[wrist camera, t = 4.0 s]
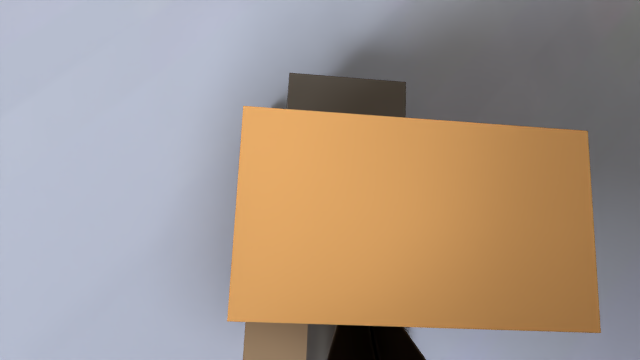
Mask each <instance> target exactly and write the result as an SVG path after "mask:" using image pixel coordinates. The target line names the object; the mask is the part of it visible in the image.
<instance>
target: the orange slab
mask: <svg viewBox="0 0 640 360" xmlns="http://www.w3.org/2000/svg"><path fill="white" fill-rule="evenodd" d="M227 321H234V322H266V323H298V324H330V325H363V326H395V327H427V328H459V329H491V330H523V331H555V332H587V333H601V329H600V314H599V298H598V283H597V267H596V252H595V236H594V221H593V205H592V189H591V174H590V158H589V143H588V131H582V130H569V129H555V128H541V127H527V126H513V125H500V124H486V123H472V122H458V121H444V120H430V119H417V118H403V117H389V116H375V115H361V114H347V113H334V112H320V111H306V110H292V109H278V108H265V107H251V106H243V118H242V132H241V145H240V158H239V172H238V185H237V198H236V212H235V225H234V238H233V251H232V265H231V278H230V291H229V305H228V318H227Z"/></svg>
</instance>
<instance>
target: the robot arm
mask: <svg viewBox="0 0 640 360" xmlns="http://www.w3.org/2000/svg"><path fill="white" fill-rule="evenodd" d="M326 360H426V359H425V358H424V356H423V355H422V353H421V352H420V351H419V349H418V348H417V346H416V345H415V343H414V342H413V341H412V339H411V338H410V336H409V335H408V334H407V332H406V331H405V329H404V328H403V327H395V326H363V325H336V328H335V332H334V335H333V338H332V342H331V345H330V349H329V352H328V356H327V359H326Z"/></svg>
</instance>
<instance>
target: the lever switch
mask: <svg viewBox="0 0 640 360" xmlns="http://www.w3.org/2000/svg"><path fill="white" fill-rule="evenodd" d="M405 106H406V82H398V81H386V80H373V79H360V78H348V77H335V76H323V75H310V74H297V73H290V74H289V86H288V98H287V109H292V110H306V111H320V112H334V113H347V114H361V115H375V116H389V117H403V118H405ZM335 328H336V325H330V324H298V323H266V322H246V323H245V338H244V352H243V360H326V359H327V356H328V352H329V349H330V345H331V342H332V338H333V335H334V332H335Z"/></svg>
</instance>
